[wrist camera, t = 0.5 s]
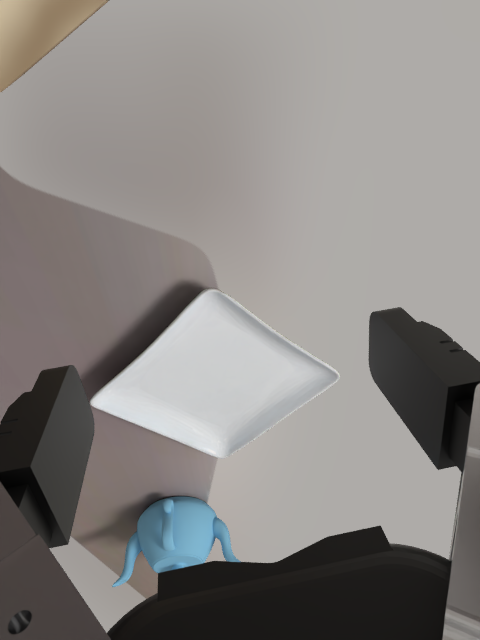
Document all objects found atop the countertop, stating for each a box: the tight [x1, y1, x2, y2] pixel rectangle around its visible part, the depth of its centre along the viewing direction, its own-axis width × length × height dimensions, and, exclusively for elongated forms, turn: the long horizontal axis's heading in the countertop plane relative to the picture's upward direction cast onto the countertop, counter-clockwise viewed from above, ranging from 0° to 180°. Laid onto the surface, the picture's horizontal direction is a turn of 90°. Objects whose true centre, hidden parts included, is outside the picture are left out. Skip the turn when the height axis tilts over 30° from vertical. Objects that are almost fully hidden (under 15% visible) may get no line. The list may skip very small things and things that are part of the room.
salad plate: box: [90, 288, 340, 459], centre depth 51 cm, size 21×21×3 cm
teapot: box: [112, 496, 241, 587], centre depth 69 cm, size 15×15×10 cm
